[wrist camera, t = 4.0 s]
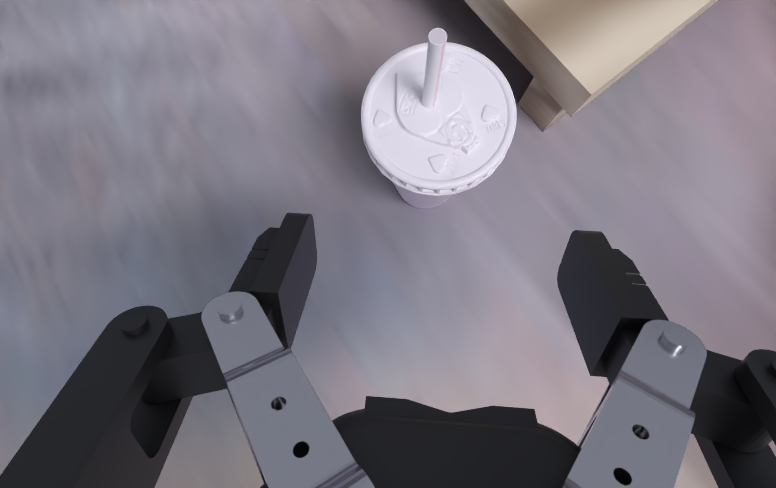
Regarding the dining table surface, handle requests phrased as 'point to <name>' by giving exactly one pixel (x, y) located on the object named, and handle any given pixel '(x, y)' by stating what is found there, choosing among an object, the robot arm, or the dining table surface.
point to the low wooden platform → (580, 44)
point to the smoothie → (437, 120)
